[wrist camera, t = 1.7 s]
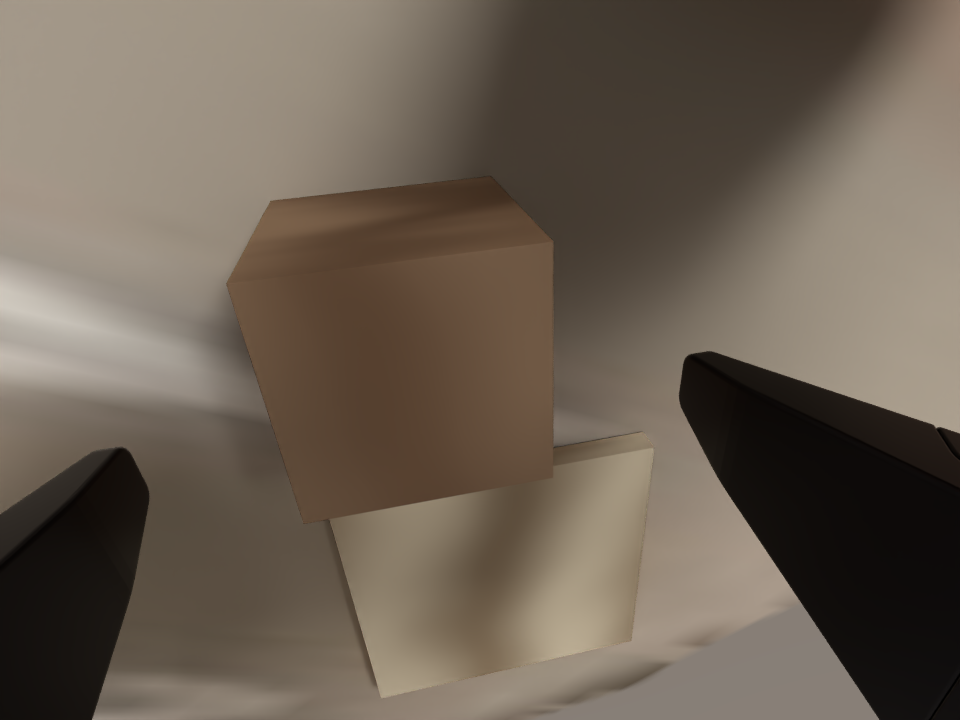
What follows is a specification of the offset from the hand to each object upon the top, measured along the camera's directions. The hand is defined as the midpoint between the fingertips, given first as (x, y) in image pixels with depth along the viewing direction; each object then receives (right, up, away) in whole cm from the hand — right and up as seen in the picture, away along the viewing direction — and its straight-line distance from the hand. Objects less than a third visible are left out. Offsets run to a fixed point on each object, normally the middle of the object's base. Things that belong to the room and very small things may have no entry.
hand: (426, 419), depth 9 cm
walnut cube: (-1, +3, +5) cm, 6 cm away
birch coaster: (+2, -6, +11) cm, 13 cm away
